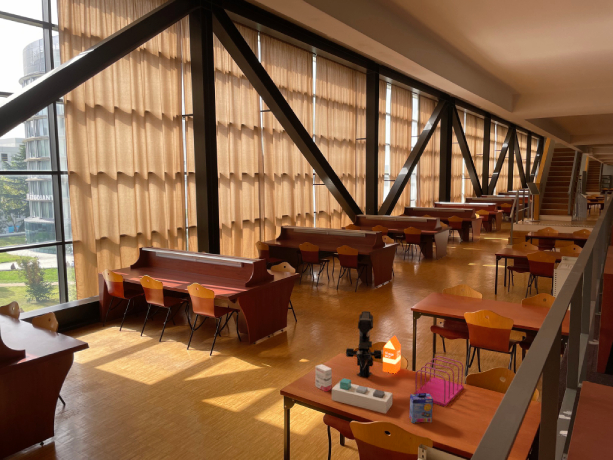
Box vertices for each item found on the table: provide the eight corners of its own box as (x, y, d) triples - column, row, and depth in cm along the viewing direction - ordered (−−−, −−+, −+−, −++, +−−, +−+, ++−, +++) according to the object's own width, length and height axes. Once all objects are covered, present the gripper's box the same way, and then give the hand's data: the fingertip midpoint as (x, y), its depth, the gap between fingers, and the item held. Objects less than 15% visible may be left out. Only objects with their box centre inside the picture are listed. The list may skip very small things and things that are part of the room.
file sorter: (413, 396, 251) (414, 368, 248) (433, 379, 270) (434, 353, 268) (445, 407, 240) (446, 377, 238) (463, 388, 259) (465, 361, 257)
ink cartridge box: (412, 423, 225) (413, 394, 223) (408, 417, 231) (409, 389, 228) (432, 422, 226) (433, 393, 224) (428, 416, 231) (429, 388, 229)
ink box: (332, 389, 259) (332, 368, 257) (325, 392, 256) (325, 371, 254) (321, 383, 265) (321, 363, 264) (314, 386, 262) (314, 365, 261)
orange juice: (400, 368, 284) (401, 336, 281) (395, 374, 277) (395, 341, 274) (388, 365, 288) (388, 333, 285) (382, 371, 281) (383, 338, 278)
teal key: (343, 385, 251) (343, 378, 251) (351, 387, 249) (351, 379, 249) (339, 388, 248) (339, 381, 247) (347, 390, 246) (347, 383, 245)
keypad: (339, 391, 256) (339, 381, 255) (392, 404, 243) (392, 393, 242) (331, 399, 247) (331, 388, 247) (385, 413, 234) (386, 402, 233)
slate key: (359, 392, 248) (359, 385, 247) (367, 394, 246) (367, 387, 245) (356, 396, 244) (356, 389, 243) (364, 398, 242) (364, 391, 241)
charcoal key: (375, 396, 243) (376, 389, 243) (384, 398, 241) (384, 391, 241) (372, 400, 240) (373, 393, 239) (381, 402, 238) (381, 395, 237)
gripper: (346, 333, 257) (344, 362, 248) (381, 336, 254) (381, 364, 245) (347, 342, 266) (345, 369, 257) (381, 344, 262) (381, 372, 253)
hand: (363, 369), depth 253 cm, fingers closed
